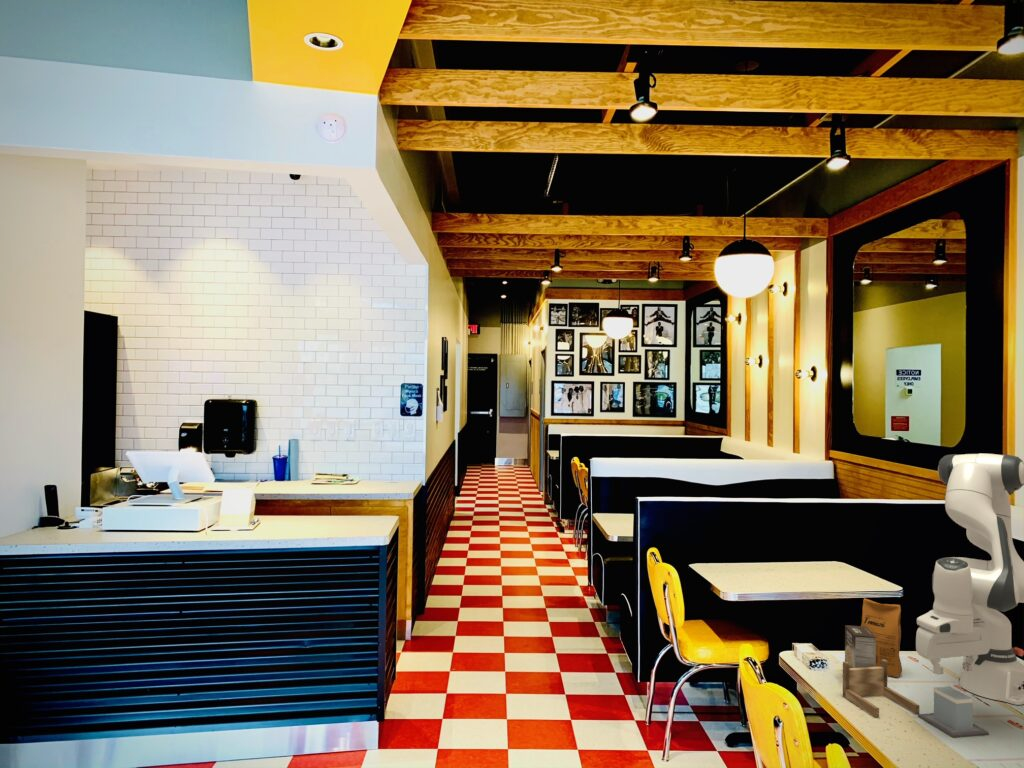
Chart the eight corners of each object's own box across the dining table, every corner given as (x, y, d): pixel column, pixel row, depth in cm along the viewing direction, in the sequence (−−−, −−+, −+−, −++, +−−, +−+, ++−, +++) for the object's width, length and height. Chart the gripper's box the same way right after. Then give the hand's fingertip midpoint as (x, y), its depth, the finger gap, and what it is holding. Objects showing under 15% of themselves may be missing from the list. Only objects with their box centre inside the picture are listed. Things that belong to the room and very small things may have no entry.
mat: (951, 713, 172) (951, 711, 172) (989, 734, 161) (989, 732, 161) (917, 716, 170) (917, 714, 170) (953, 737, 159) (953, 735, 159)
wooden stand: (884, 693, 183) (884, 659, 184) (919, 714, 171) (919, 677, 171) (842, 696, 181) (842, 661, 181) (875, 717, 168) (875, 680, 169)
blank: (949, 715, 169) (949, 686, 170) (973, 729, 162) (973, 698, 163) (933, 717, 168) (933, 687, 169) (956, 730, 161) (956, 699, 162)
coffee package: (861, 659, 209) (862, 594, 209) (904, 670, 200) (904, 602, 201) (854, 668, 201) (854, 600, 202) (898, 680, 193) (898, 609, 194)
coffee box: (843, 675, 195) (844, 624, 196) (865, 677, 194) (866, 626, 195) (853, 688, 186) (853, 634, 187) (876, 690, 185) (877, 636, 186)
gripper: (974, 613, 171) (974, 663, 171) (911, 618, 168) (911, 669, 168) (996, 621, 165) (996, 673, 165) (931, 627, 161) (931, 680, 161)
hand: (953, 671), depth 166 cm, fingers open, 8 cm apart
